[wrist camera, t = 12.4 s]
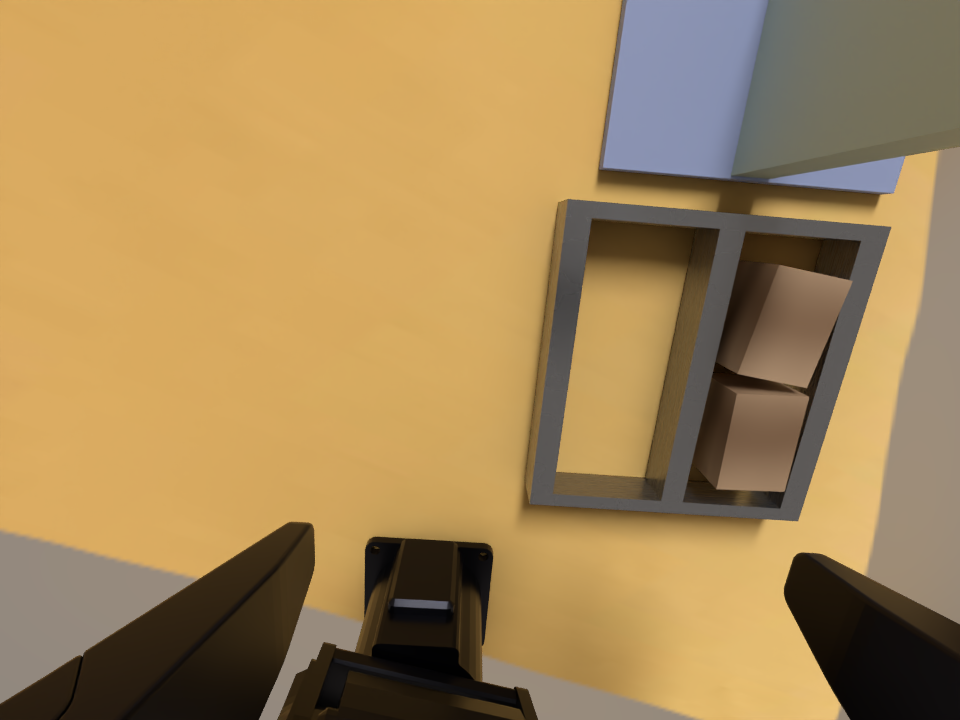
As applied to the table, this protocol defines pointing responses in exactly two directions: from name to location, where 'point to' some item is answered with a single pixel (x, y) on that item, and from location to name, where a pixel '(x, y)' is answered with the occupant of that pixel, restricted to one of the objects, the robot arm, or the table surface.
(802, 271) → the offcut
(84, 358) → the table surface
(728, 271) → the rack
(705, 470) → the offcut
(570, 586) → the table surface
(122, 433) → the table surface
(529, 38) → the table surface
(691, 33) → the mat
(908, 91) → the green upright panel
